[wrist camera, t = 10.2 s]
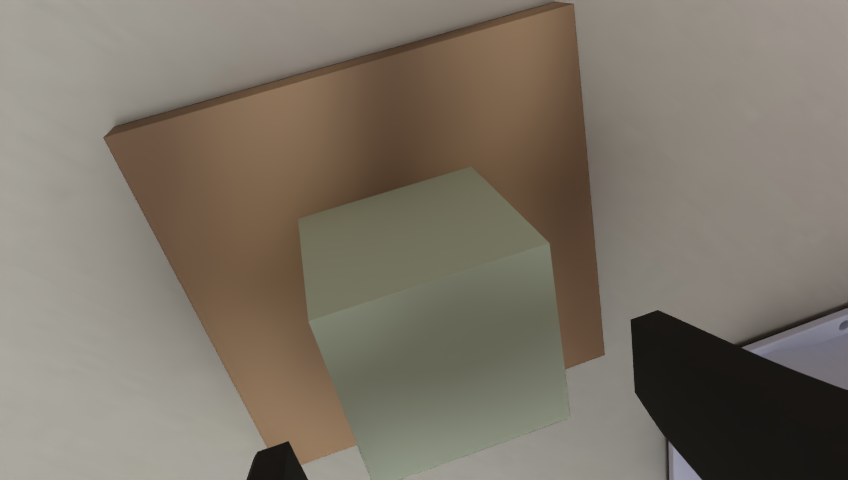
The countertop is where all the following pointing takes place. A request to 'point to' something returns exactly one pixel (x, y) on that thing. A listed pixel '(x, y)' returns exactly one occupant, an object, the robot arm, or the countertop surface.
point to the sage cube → (434, 321)
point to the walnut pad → (361, 191)
